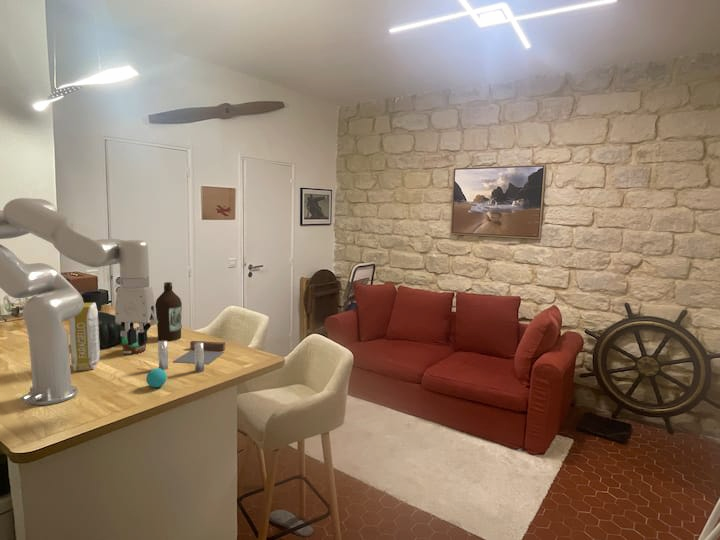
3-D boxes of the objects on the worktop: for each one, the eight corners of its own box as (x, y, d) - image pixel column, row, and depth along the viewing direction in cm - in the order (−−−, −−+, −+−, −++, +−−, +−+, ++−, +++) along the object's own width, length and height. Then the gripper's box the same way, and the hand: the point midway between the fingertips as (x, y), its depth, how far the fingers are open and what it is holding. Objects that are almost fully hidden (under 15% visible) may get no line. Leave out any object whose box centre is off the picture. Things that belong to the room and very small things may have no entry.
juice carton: (76, 363, 162) (73, 299, 159) (101, 361, 165) (98, 298, 162) (70, 372, 154) (66, 304, 151) (96, 370, 157) (93, 303, 153)
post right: (201, 372, 157) (201, 345, 156) (193, 372, 157) (192, 344, 156) (205, 369, 160) (204, 342, 159) (197, 369, 160) (196, 342, 159)
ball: (160, 391, 140) (160, 372, 139) (142, 389, 141) (142, 371, 140) (170, 383, 146) (170, 366, 145) (153, 382, 147) (152, 365, 146)
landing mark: (208, 364, 166) (208, 363, 165) (172, 362, 167) (172, 361, 167) (223, 352, 179) (223, 352, 179) (190, 350, 181) (190, 350, 181)
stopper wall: (223, 351, 181) (223, 343, 181) (190, 349, 183) (190, 342, 182) (225, 349, 183) (225, 342, 183) (192, 347, 185) (192, 340, 184)
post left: (165, 370, 158) (164, 343, 157) (157, 369, 159) (156, 342, 157) (169, 367, 161) (168, 340, 160) (161, 366, 162) (160, 340, 160)
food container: (134, 357, 171) (133, 332, 170) (120, 356, 172) (119, 331, 171) (155, 348, 183) (154, 324, 182) (142, 347, 184) (141, 323, 183)
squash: (137, 332, 186) (120, 303, 189) (101, 342, 173) (84, 310, 176) (123, 349, 193) (108, 321, 196) (88, 360, 180) (72, 329, 183)
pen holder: (78, 311, 243) (77, 293, 242) (93, 308, 252) (92, 290, 250) (91, 313, 240) (90, 294, 239) (106, 309, 249) (105, 292, 248)
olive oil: (151, 339, 194) (148, 283, 191) (170, 333, 204) (168, 280, 201) (169, 343, 190) (167, 285, 187) (187, 337, 200) (186, 282, 197)
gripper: (100, 283, 127) (103, 346, 129) (154, 286, 125) (156, 349, 127) (117, 279, 134) (119, 339, 136) (168, 282, 132) (170, 342, 135)
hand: (137, 343), depth 132 cm, fingers open, 2 cm apart
